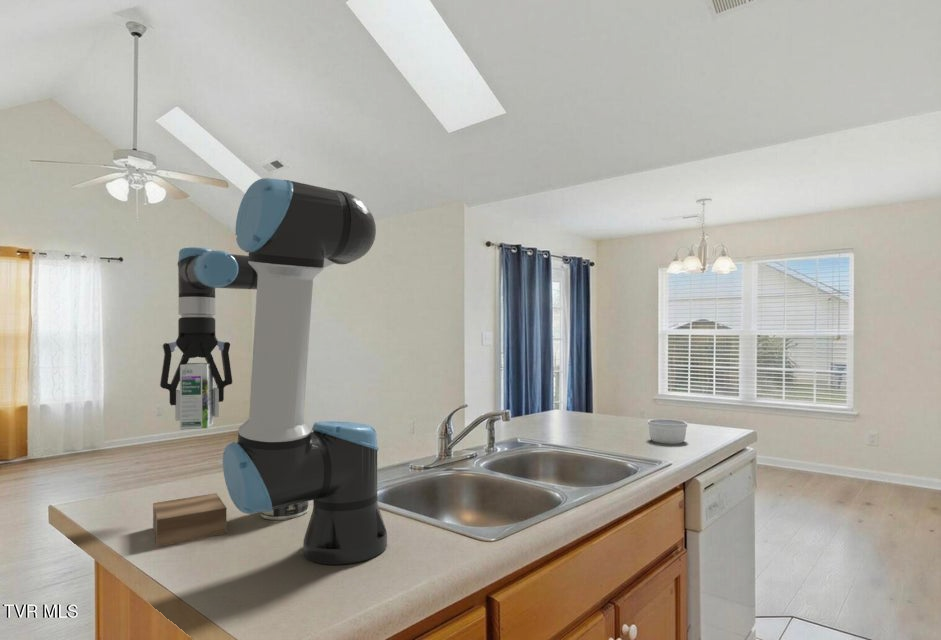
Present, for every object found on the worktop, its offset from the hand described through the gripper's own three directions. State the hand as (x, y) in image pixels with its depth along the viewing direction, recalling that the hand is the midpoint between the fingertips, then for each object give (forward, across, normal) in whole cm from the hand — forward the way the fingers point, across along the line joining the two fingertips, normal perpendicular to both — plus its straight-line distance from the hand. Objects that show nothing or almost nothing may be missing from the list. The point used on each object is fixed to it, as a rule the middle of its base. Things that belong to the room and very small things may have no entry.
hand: (197, 417), depth 123 cm
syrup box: (+2, 0, 0) cm, 2 cm away
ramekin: (+21, -150, +13) cm, 152 cm away
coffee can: (+21, -16, +12) cm, 29 cm away
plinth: (+21, +3, +12) cm, 24 cm away
